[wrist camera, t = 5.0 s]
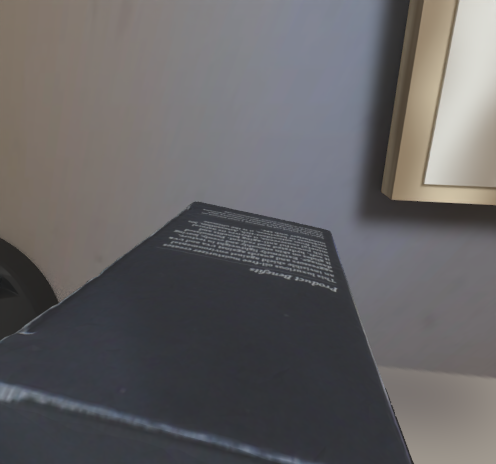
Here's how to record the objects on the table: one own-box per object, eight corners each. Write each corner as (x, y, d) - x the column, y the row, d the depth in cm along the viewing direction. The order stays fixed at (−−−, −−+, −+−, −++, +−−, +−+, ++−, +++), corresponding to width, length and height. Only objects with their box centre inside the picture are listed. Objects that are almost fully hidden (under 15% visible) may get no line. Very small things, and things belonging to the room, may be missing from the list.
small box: (287, 420, 17) (269, 853, 7) (167, 388, 17) (-14, 743, 7) (342, 229, 13) (474, 539, 3) (189, 197, 14) (-101, 375, 4)
